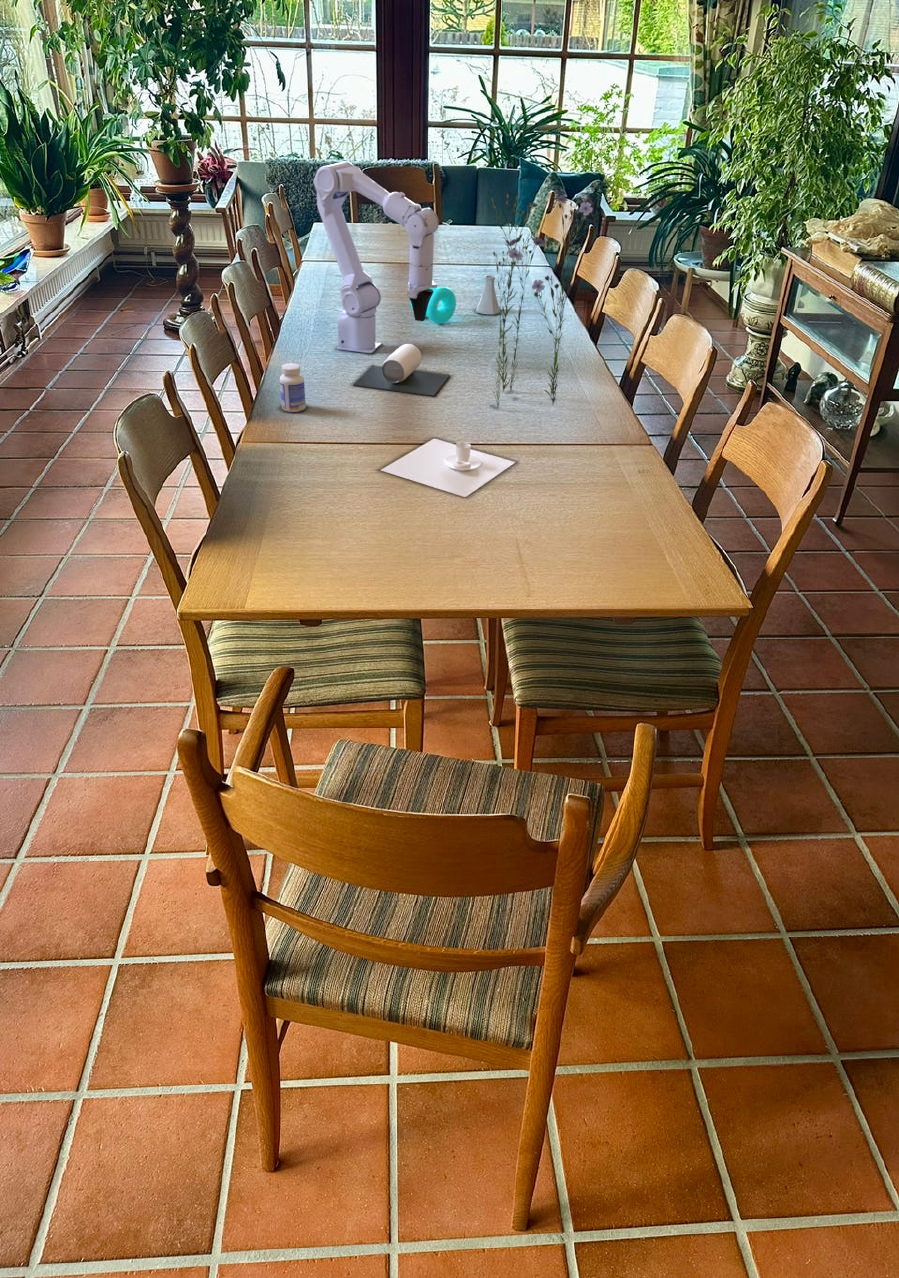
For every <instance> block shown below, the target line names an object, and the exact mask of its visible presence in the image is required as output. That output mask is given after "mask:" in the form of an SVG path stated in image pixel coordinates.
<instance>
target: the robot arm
mask: <svg viewBox="0 0 899 1278" xmlns="http://www.w3.org/2000/svg"><path fill="white" fill-rule="evenodd" d="M312 182H313V185H314V188H315V190H316V204H317V205H316V207H317V210H318V213H319V215H320V218H321V221H322V224H323V227H324V230H325V232H326V235H327V237H328V241H329V244H330V246H331V249H332V251H333V254H334V258H335V260H336V263H337V266H338V268H339V271H340V273H341V276H342V281H341V284H340V287H339V291H340V294H341V295H340V296H341V306H342V308H343V311H341V312H340V313H339V315H338V319H337V347H336V349H337V350H342V351H347V352H355V353H356V352H357V353H364V354H373V353H374V352H375V351H376V350H377V349H378V348H379V347H380V346H381V342H378V341H376V340H377V338H376V336H377V334H376V331H377V330H376V329H377V328H376V324H377V323H376V321H377V320H376V317H377V315H376V314H377V307H378V306H379V305H380V304H381V301H382V295H381V294H382V293H381V291H380V288H379V287H378V286H377V285H376V284H375V282H374V280H373V277H372V276H371V275H370V274H369V273H367V272H366V271H364V268H363V266H362V263H361V260H360V257H359V254H358V251H357V249H356V246H355V243H354V239H353V237H352V234H351V231H350V228H349V226H348V223H347V220H346V216H345V215H344V212H343V209H342V206H343V205H344V202H345V200H346V197H348V195H349V194H350V193H351V192H357V193H358V194H360V195H362V196H364V197H366V198H367V199H369V200H371V201H372V202H374V203H375V204H378V205H379V206H381V207H382V210H383V213H384V215H386V216H387V218H390V219H391V220H393V221H394V222H396V223H398V224H399V225H401V226H402V227H403V228H404V229H405V232H406V233H407V235H408V237H409V239H408V242H409V263H408V264H409V270H408V271H409V273H408V283H407V284H408V285H407V286H408V289H407V298H408V299H409V300H410V301H411V304H412V307H413V310H412V313H413V317H414V321H415V322H416V321H418V322H424V321H425V319H426V317H425V316H426V312H427V308H428V304H429V301H430V298H431V296H432V294H433V292H434V290H432V289H429V288H436V287H438V282H434V273H433V272H434V251H435V250H434V248H435V247H434V246H435V233H436V232H437V231H438V228H439V225H440V221H439V217H438V215H437V213H436V211H433V209H432V208H430V207H424V208H422V206H421V205H420V204H419V203H415V202H413V201H412V200H410V199H409V198H407V197H406V194H405V193H404V192H403V191H400V192H398V191H393V192H389V191H387V189H385V188H384V187H382V186H381V185H379V184H378V183H377V182H376V181H374V180H373V179H372V178H370V177H369V176H368V175H366V174H365V173H363V171H362V170H361V169H360V167H358V166H357V165H354V164H353V163H352V162H350V161H346V160H345V161H344V160H343V161H341V162H338V163H334V164H330V165H323V166H321V167H319V168H318V169H317V171H316V173H315V175H314V178H313V181H312ZM410 301H409V302H410ZM411 304H410V305H411Z"/></svg>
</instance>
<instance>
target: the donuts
mask: <svg viewBox="0 0 899 1278" xmlns="http://www.w3.org/2000/svg"><path fill="white" fill-rule="evenodd" d="M429 289H432V290H434V292H433V294H432V296H431V298H430V301H429V304H428V308H427V312H426V316H425V318H429V320H430V321H431V322H432V323H434V324H441V325H442V324H444V323H447V322H448V321H449V320H450V319H451V318H453V315H454V313H455V311H456V306H457V298H456V295H455V293H454V291H453V290H452V289H451V288H449V287H447V286H439V287H438V286H437V287H436V288H429ZM409 302H410V308H411V311H413V307H412V304H411V301H409ZM440 303H441V304H440ZM439 304H440V306H439Z"/></svg>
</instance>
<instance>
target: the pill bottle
mask: <svg viewBox="0 0 899 1278" xmlns="http://www.w3.org/2000/svg"><path fill="white" fill-rule="evenodd" d="M281 373H282V374H281V375H280V376H279V390H280V391H279V392H280V406H281V409H282V410H283V411H285V412H287V413H298V412H302V411H304V410H305V409H306V390H305V389H306V387H305V377H304V375H302V373H301V366H300V365H299V364H298V363H292V362H291V363H284V364H282V366H281Z"/></svg>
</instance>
